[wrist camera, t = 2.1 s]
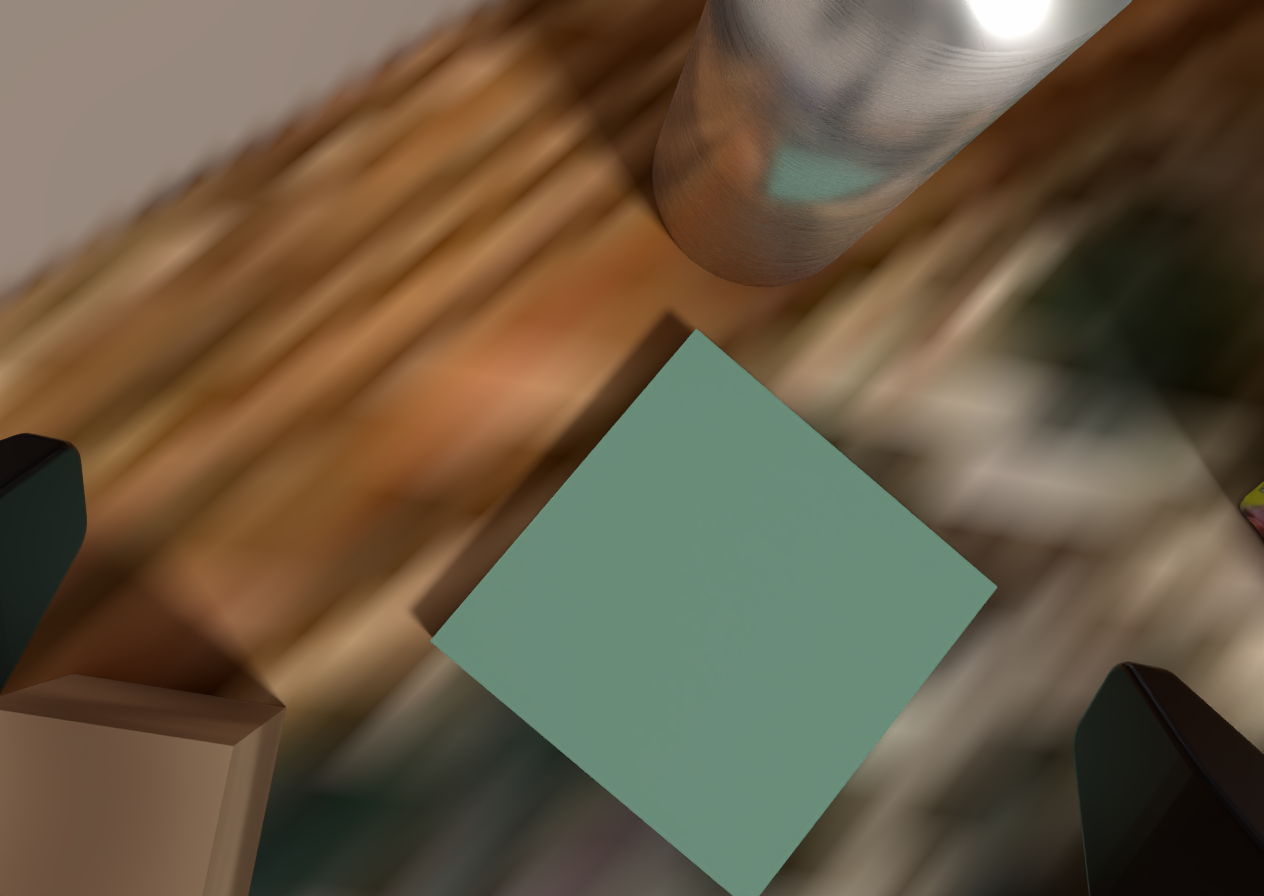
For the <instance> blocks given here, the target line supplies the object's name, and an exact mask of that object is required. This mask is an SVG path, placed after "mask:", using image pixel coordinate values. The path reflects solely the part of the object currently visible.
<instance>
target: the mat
mask: <svg viewBox="0 0 1264 896" xmlns="http://www.w3.org/2000/svg"><path fill="white" fill-rule="evenodd" d="M996 588H997V586H996V585H995V584H993V583H992V582H991V581H990V580H989V579H988V578H986V577H985V576H984V575H983V574H982V573H981V572H979V571H978V570H977V569H976V568H975V567H974V566H972V565H971V564H970V563H969V562H968V561H967V560H965V559H964V558H963V557H962V556H961V555H960V554H958V553H957V552H956V551H955V550H954V549H953V548H951V547H950V546H949V545H948V544H947V543H946V542H944V541H943V540H942V539H941V538H940V537H939V536H937V535H936V534H935V533H934V532H933V531H932V530H930V529H929V528H928V527H927V526H926V525H925V524H924V523H922V522H921V521H920V520H919V519H918V518H917V517H915V516H914V515H913V514H912V513H911V512H910V511H908V510H907V509H906V508H905V507H904V506H903V505H901V504H900V503H899V502H898V501H897V500H896V499H894V498H893V497H892V496H891V495H890V494H889V493H887V492H886V491H885V490H884V489H883V488H882V487H880V486H879V485H878V484H877V483H876V482H875V481H873V480H872V479H871V478H870V477H869V476H868V475H866V474H865V473H864V472H863V471H862V470H861V469H859V468H858V467H857V466H856V465H855V464H854V463H852V462H851V461H850V460H849V459H848V458H847V457H845V456H844V455H843V454H842V453H841V452H840V451H838V450H837V449H836V448H835V447H834V446H833V445H831V444H830V443H829V442H828V441H827V440H826V439H824V438H823V437H822V436H821V435H820V434H819V433H817V432H816V431H815V430H814V429H813V428H812V427H810V426H809V425H808V424H807V423H806V422H805V421H803V420H802V419H801V418H800V417H799V416H798V415H796V414H795V413H794V412H793V411H792V410H791V409H790V408H788V407H787V406H786V405H785V404H784V403H783V402H781V401H780V400H779V399H778V398H777V397H776V396H774V395H773V394H772V393H771V392H770V391H769V390H767V389H766V388H765V387H764V386H763V385H762V384H760V383H759V382H758V381H757V380H756V379H755V378H753V377H752V376H751V375H750V374H749V373H748V372H746V371H745V370H744V369H743V368H742V367H741V366H739V365H738V364H737V363H736V362H735V361H734V360H732V359H731V358H730V357H729V356H728V355H727V354H725V353H724V352H723V351H722V350H721V349H720V348H718V347H717V346H716V345H715V344H714V343H713V342H711V341H710V340H709V339H708V338H707V337H706V336H704V335H703V334H702V333H701V332H700V331H699V330H697V329H695V331H694V332H693V333H692V334H691V335H690V336H689V338H688V339H687V340H686V341H685V342H684V343H683V345H682V346H681V347H680V348H679V349H678V350H677V352H676V353H675V354H674V355H673V356H672V358H671V359H670V360H669V361H668V362H667V363H666V365H665V366H664V367H663V368H662V369H661V370H660V372H659V373H658V374H657V375H656V376H655V377H654V379H653V380H652V381H651V382H650V383H649V385H648V386H647V387H646V388H645V389H644V390H643V392H642V393H641V394H640V395H639V396H638V397H637V399H636V400H635V401H634V402H633V403H632V404H631V406H630V407H629V408H628V409H627V410H626V411H625V413H624V414H623V415H622V416H621V417H620V419H619V420H618V421H617V422H616V423H615V424H614V426H613V427H612V428H611V429H610V430H609V431H608V433H607V434H606V435H605V436H604V437H603V438H602V440H601V441H600V442H599V443H598V444H597V446H596V447H595V448H594V449H593V450H592V451H591V453H590V454H589V455H588V456H587V457H586V458H585V460H584V461H583V462H582V463H581V464H580V465H579V467H578V468H577V469H576V470H575V471H574V473H573V474H572V475H571V476H570V477H569V478H568V480H567V481H566V482H565V483H564V484H563V485H562V487H561V488H560V489H559V490H558V491H557V492H556V494H555V495H554V496H553V497H552V498H551V499H550V501H549V502H548V503H547V504H546V505H545V507H544V508H543V509H542V510H541V511H540V512H539V514H538V515H537V516H536V517H535V518H534V519H533V521H532V522H531V523H530V524H529V525H528V526H527V528H526V529H525V530H524V531H523V532H522V534H521V535H520V536H519V537H518V538H517V539H516V541H515V542H514V543H513V544H512V545H511V546H510V548H509V549H508V550H507V551H506V552H505V553H504V555H503V556H502V557H501V558H500V559H499V560H498V562H497V563H496V564H495V565H494V566H493V568H492V569H491V570H490V571H489V572H488V573H487V575H486V576H485V577H484V578H483V579H482V580H481V582H480V583H479V584H478V585H477V586H476V587H475V589H474V590H473V591H472V592H471V593H470V595H469V596H468V597H467V598H466V599H465V600H464V602H463V603H462V604H461V605H460V606H459V607H458V609H457V610H456V611H455V612H454V613H453V614H452V616H451V617H450V618H449V619H448V620H447V622H446V623H445V624H444V625H443V626H442V627H441V629H440V630H439V631H438V632H437V633H436V634H435V636H434V637H433V638H432V639H431V640H430V642H432V643H433V644H434V645H435V646H436V647H437V648H439V649H440V650H441V651H442V652H443V653H445V654H446V655H447V656H448V657H449V658H451V659H452V660H453V661H454V662H455V663H457V664H458V665H459V666H460V667H461V668H462V669H464V670H465V671H466V672H467V673H468V674H470V675H471V676H472V677H473V678H474V679H476V680H477V681H478V682H479V683H480V684H482V685H483V686H484V687H485V688H486V689H487V690H489V691H490V692H491V693H492V694H493V695H495V696H496V697H497V698H498V699H499V700H501V701H502V702H503V703H504V704H505V705H506V706H508V707H509V708H510V709H511V710H512V711H514V712H515V713H516V714H517V715H518V716H520V717H521V718H522V719H523V720H524V721H526V722H527V723H528V724H529V725H530V726H531V727H533V728H534V729H535V730H536V731H537V732H539V733H540V734H541V735H542V736H543V737H545V738H546V739H547V740H548V741H549V742H551V743H552V744H553V745H554V746H555V747H556V748H558V749H559V750H560V751H561V752H562V753H564V754H565V755H566V756H567V757H568V758H570V759H571V760H572V761H573V762H574V763H576V764H577V765H578V766H579V767H580V768H581V769H583V770H584V771H585V772H586V773H587V774H589V775H590V776H591V777H592V778H593V779H595V780H596V781H597V782H598V783H599V784H600V785H602V786H603V787H604V788H605V789H606V790H608V791H609V792H610V793H611V794H612V795H614V796H615V797H616V798H617V799H618V800H620V801H621V802H622V803H623V804H624V805H625V806H627V807H628V808H629V809H630V810H631V811H633V812H634V813H635V814H636V815H637V816H639V817H640V818H641V819H642V820H643V821H645V822H646V823H647V824H648V825H649V826H650V827H652V828H653V829H654V830H655V831H656V832H658V833H659V834H660V835H661V836H662V837H664V838H665V839H666V840H667V841H668V842H670V843H671V844H672V845H673V846H674V847H675V848H677V849H678V850H679V851H680V852H681V853H683V854H684V855H685V856H686V857H687V858H689V859H690V860H691V861H692V862H693V863H694V864H696V865H697V866H698V867H699V868H700V869H702V870H703V871H704V872H705V873H706V874H708V875H709V876H710V877H711V878H712V879H714V880H715V881H716V882H717V883H718V884H719V885H721V886H722V887H723V888H724V889H725V890H727V891H728V892H729V893H730V894H731V895H733V896H759V895H760V894H761V893H762V891H763V890H764V889H765V888H766V886H767V885H768V884H769V882H770V881H771V880H772V878H773V877H774V876H775V875H776V873H777V872H778V871H779V869H780V868H781V867H782V865H783V864H784V863H785V862H786V860H787V859H788V858H789V856H790V855H791V854H792V853H793V851H794V850H795V849H796V847H797V846H798V845H799V843H800V842H801V841H802V840H803V838H804V837H805V836H806V834H807V833H808V832H809V830H810V829H811V828H812V827H813V825H814V824H815V823H816V821H817V820H818V819H819V818H820V816H821V815H822V814H823V812H824V811H825V810H826V808H827V807H828V806H829V805H830V803H831V802H832V801H833V799H834V798H835V797H836V796H837V794H838V793H839V792H840V790H841V789H842V788H843V786H844V785H845V784H846V783H847V781H848V780H849V779H850V777H851V776H852V775H853V773H854V772H855V771H856V770H857V768H858V767H859V766H860V764H861V763H862V762H863V761H864V759H865V758H866V757H867V755H868V754H869V753H870V751H871V750H872V749H873V748H874V746H875V745H876V744H877V742H878V741H879V740H880V739H881V737H882V736H883V735H884V733H885V732H886V731H887V729H888V728H889V727H890V726H891V724H892V723H893V722H894V720H895V719H896V718H897V716H898V715H899V714H900V713H901V711H902V710H903V709H904V707H905V706H906V705H907V704H908V702H909V701H910V700H911V698H912V697H913V696H914V694H915V693H916V692H917V691H918V689H919V688H920V687H921V685H922V684H923V683H924V682H925V680H926V679H927V678H928V676H929V675H930V674H931V672H932V671H933V670H934V669H935V667H936V666H937V665H938V663H939V662H940V661H941V659H942V658H943V657H944V656H945V654H946V653H947V652H948V650H949V649H950V648H951V647H952V645H953V644H954V643H955V641H956V640H957V639H958V637H959V636H960V635H961V634H962V632H963V631H964V630H965V628H966V627H967V626H968V624H969V623H970V622H971V621H972V619H973V618H974V617H975V615H976V614H977V613H978V612H979V610H980V609H981V608H982V606H983V605H984V604H985V602H986V601H987V600H988V599H989V597H990V596H991V595H992V593H993V592H994V591H995V590H996Z"/></svg>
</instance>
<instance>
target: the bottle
mask: <svg viewBox="0 0 1264 896" xmlns="http://www.w3.org/2000/svg"><path fill="white" fill-rule="evenodd" d="M1131 2H1132V0H707V2H706V4H705V7H704V10H703V13H702V16H701V19H700V21H699V24H698V27H697V30H696V33H695V36H694V39H693V41H692V44H691V47H690V50H689V53H688V56H687V58H686V61H685V64H684V67H683V70H682V73H681V76H680V78H679V81H678V84H677V87H676V90H675V93H674V96H673V98H672V101H671V104H670V107H669V110H668V113H667V115H666V118H665V121H664V124H663V127H662V130H661V133H660V135H659V138H658V141H657V145H656V149H655V152H654V157H653V166H652V185H653V192H654V198H655V202H656V205H657V209H658V212H659V214H660V217H661V219H662V221H663V223H664V226H665V227H666V229H667V231H668V232H669V234H670V236H671V237H672V239H673V240H674V241H675V242H676V244H677V245H678V246H679V248H680V249H681V250H682V251H683V252H684V253H685V254H686V255H687V256H688V257H689V258H690V259H691V260H693V261H694V262H695V263H697V264H698V265H699V266H701V267H702V268H703V269H705V270H707V271H709V272H710V273H712V274H714V275H716V276H718V277H720V278H723V279H725V280H728V281H731V282H734V283H738V284H742V285H748V286H755V287H774V286H782V285H787V284H791V283H795V282H799V281H801V280H804V279H806V278H808V277H811V276H813V275H814V274H816V273H818V272H820V271H821V270H823V269H824V268H826V267H827V266H828V265H829V264H831V263H832V262H833V261H835V260H836V259H837V258H838V257H839V256H840V255H841V254H843V253H844V252H845V251H846V250H847V249H848V248H849V247H851V246H852V245H853V244H854V243H855V242H856V241H858V240H859V239H860V238H861V237H862V236H863V235H864V234H866V233H867V232H868V231H869V230H870V229H871V228H872V227H874V226H875V225H876V224H877V223H878V222H879V221H880V220H882V219H883V218H884V217H885V216H886V215H887V214H889V213H890V212H891V211H892V210H893V209H894V208H895V207H897V206H898V205H899V204H900V203H901V202H902V201H903V200H905V199H906V198H907V197H908V196H909V195H910V194H911V193H913V192H914V191H915V190H916V189H917V188H918V187H920V186H921V185H922V184H923V183H924V182H925V181H926V180H928V179H929V178H930V177H931V176H932V175H933V174H934V173H936V172H937V171H938V170H939V169H940V168H941V167H943V166H944V165H945V164H946V163H947V162H948V161H949V160H951V159H952V158H953V157H954V156H955V155H956V154H957V153H959V152H960V151H961V150H962V149H963V148H964V147H965V146H967V145H968V144H969V143H970V142H971V141H972V140H974V139H975V138H976V137H977V136H978V135H979V134H980V133H982V132H983V131H984V130H985V129H986V128H987V127H988V126H990V125H991V124H992V123H993V122H994V121H995V120H996V119H998V118H999V117H1000V116H1001V115H1002V114H1003V113H1005V112H1006V111H1007V110H1008V109H1009V108H1010V107H1011V106H1013V105H1014V104H1015V103H1016V102H1017V101H1018V100H1019V99H1021V98H1022V97H1023V96H1024V95H1025V94H1026V93H1028V92H1029V91H1030V90H1031V89H1032V88H1033V87H1034V86H1036V85H1037V84H1038V83H1039V82H1040V81H1041V80H1042V79H1044V78H1045V77H1046V76H1047V75H1048V74H1049V73H1050V72H1052V71H1053V70H1054V69H1055V68H1056V67H1057V66H1059V65H1060V64H1061V63H1062V62H1063V61H1064V60H1065V59H1067V58H1068V57H1069V56H1070V55H1071V54H1072V53H1073V52H1075V51H1076V50H1077V49H1078V48H1079V47H1080V46H1081V45H1083V44H1084V43H1085V42H1086V41H1087V40H1088V39H1090V38H1091V37H1092V36H1093V35H1094V34H1095V33H1096V32H1098V31H1099V30H1100V29H1101V28H1102V27H1103V26H1104V25H1106V24H1107V23H1108V22H1109V21H1110V20H1111V19H1113V18H1114V17H1115V16H1116V15H1117V14H1118V13H1119V12H1121V11H1122V10H1123V9H1124V8H1125V7H1126V6H1127V5H1129V4H1130V3H1131Z"/></svg>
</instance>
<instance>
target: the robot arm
mask: <svg viewBox="0 0 1264 896" xmlns="http://www.w3.org/2000/svg"><path fill="white" fill-rule="evenodd" d="M86 527H87V514H86V504H85V494H84V485H83V475H82V465H81V458H80V454H79V452H78V450H77V448H76V447H75V446H74V445H73V444H72V443H70V442H69V441H66V440H61V439H56V438H51V437H46V436H42V435H37V434H31V433H21V434H18V435H14V436H11V437H9V438H6V439H3V440H0V693H1V691H2V689H3V688H4V686H5V684H6V683H7V681H8V679H9V678H10V676H11V674H12V672H13V671H14V669H15V667H16V665H17V663H18V661H19V660H20V658H21V656H22V654H23V652H24V651H25V649H26V647H27V645H28V643H29V641H30V640H31V638H32V636H33V634H34V632H35V630H36V629H37V627H38V625H39V623H40V621H41V619H42V618H43V616H44V614H45V612H46V610H47V609H48V607H49V605H50V603H51V601H52V599H53V598H54V596H55V594H56V592H57V590H58V588H59V587H60V585H61V583H62V581H63V579H64V577H65V576H66V574H67V572H68V570H69V568H70V567H71V565H72V563H73V561H74V559H75V557H76V556H77V554H78V552H79V550H80V548H81V546H82V543H83V540H84V537H85V533H86ZM1073 755H1074V764H1075V774H1076V783H1077V792H1078V801H1079V810H1080V819H1081V828H1082V837H1083V846H1084V855H1085V864H1086V873H1087V882H1088V891H1089V896H1264V754H1263V753H1262V752H1261V751H1259V750H1258V749H1257V748H1256V747H1255V746H1254V745H1253V744H1252V743H1251V742H1249V741H1248V740H1247V739H1246V738H1245V737H1244V736H1243V735H1242V734H1240V733H1239V732H1238V731H1237V730H1236V729H1235V728H1234V727H1233V726H1232V725H1230V724H1229V723H1228V722H1227V721H1226V720H1225V719H1224V718H1223V717H1221V716H1220V715H1219V714H1218V713H1217V712H1216V711H1215V710H1214V709H1213V708H1211V707H1210V706H1209V705H1208V704H1207V703H1206V702H1205V701H1204V700H1202V699H1201V698H1200V697H1199V696H1198V695H1197V694H1196V693H1195V692H1193V691H1192V690H1191V689H1190V688H1189V687H1188V686H1187V685H1186V684H1185V683H1183V682H1182V681H1181V680H1180V679H1179V678H1178V677H1177V676H1176V675H1174V674H1173V673H1172V672H1170V671H1168V670H1165V669H1162V668H1157V667H1152V666H1148V665H1143V664H1138V663H1133V662H1122V663H1119V664H1117V665H1116V666H1115V667H1114V668H1112V670H1111V671H1110V672H1109V674H1108V675H1107V677H1106V679H1105V680H1104V682H1103V684H1102V685H1101V687H1100V689H1099V690H1098V692H1097V694H1096V695H1095V697H1094V699H1093V700H1092V702H1091V704H1090V705H1089V707H1088V709H1087V710H1086V712H1085V714H1084V715H1083V717H1082V719H1081V720H1080V722H1079V724H1078V726H1077V729H1076V732H1075V736H1074V743H1073Z"/></svg>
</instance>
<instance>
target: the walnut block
mask: <svg viewBox="0 0 1264 896" xmlns="http://www.w3.org/2000/svg"><path fill="white" fill-rule="evenodd" d="M285 711H286V707H281V706H275V705H269V704H262V703H256V702H250V701H243V700H237V699H231V698H224V697H218V696H212V695H206V694H199V693H193V692H187V691H180V690H174V689H168V688H161V687H155V686H149V685H142V684H136V683H130V682H124V681H117V680H111V679H105V678H98V677H92V676H86V675H79V674H70V675H67V676H63V677H60V678H57V679H54V680H50V681H47V682H44V683H41V684H37V685H34V686H31V687H27V688H24V689H21V690H18V691H14V692H11V693H8V694H4V695H1V696H0V896H248V894H249V889H250V884H251V879H252V874H253V869H254V864H255V859H256V854H257V849H258V845H259V840H260V835H261V830H262V825H263V820H264V815H265V810H266V805H267V800H268V795H269V790H270V785H271V780H272V776H273V771H274V766H275V761H276V756H277V751H278V746H279V741H280V736H281V731H282V726H283V721H284V716H285Z"/></svg>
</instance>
